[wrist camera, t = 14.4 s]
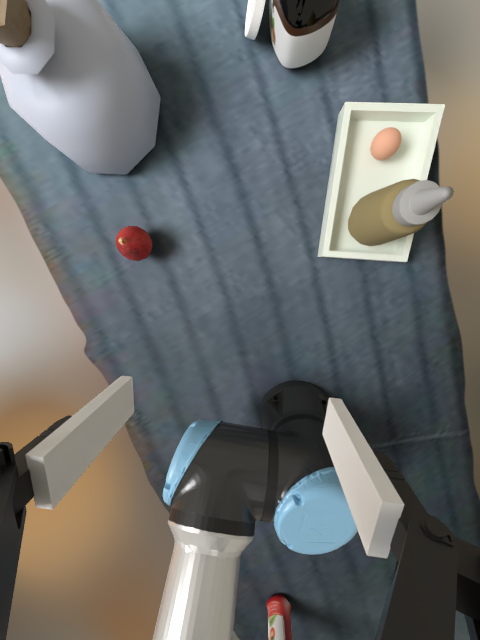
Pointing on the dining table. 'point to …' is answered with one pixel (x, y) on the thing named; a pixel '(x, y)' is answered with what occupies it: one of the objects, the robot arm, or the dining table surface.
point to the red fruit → (134, 243)
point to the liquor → (279, 618)
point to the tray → (374, 170)
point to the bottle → (78, 82)
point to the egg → (385, 143)
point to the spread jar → (294, 28)
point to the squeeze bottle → (396, 211)
